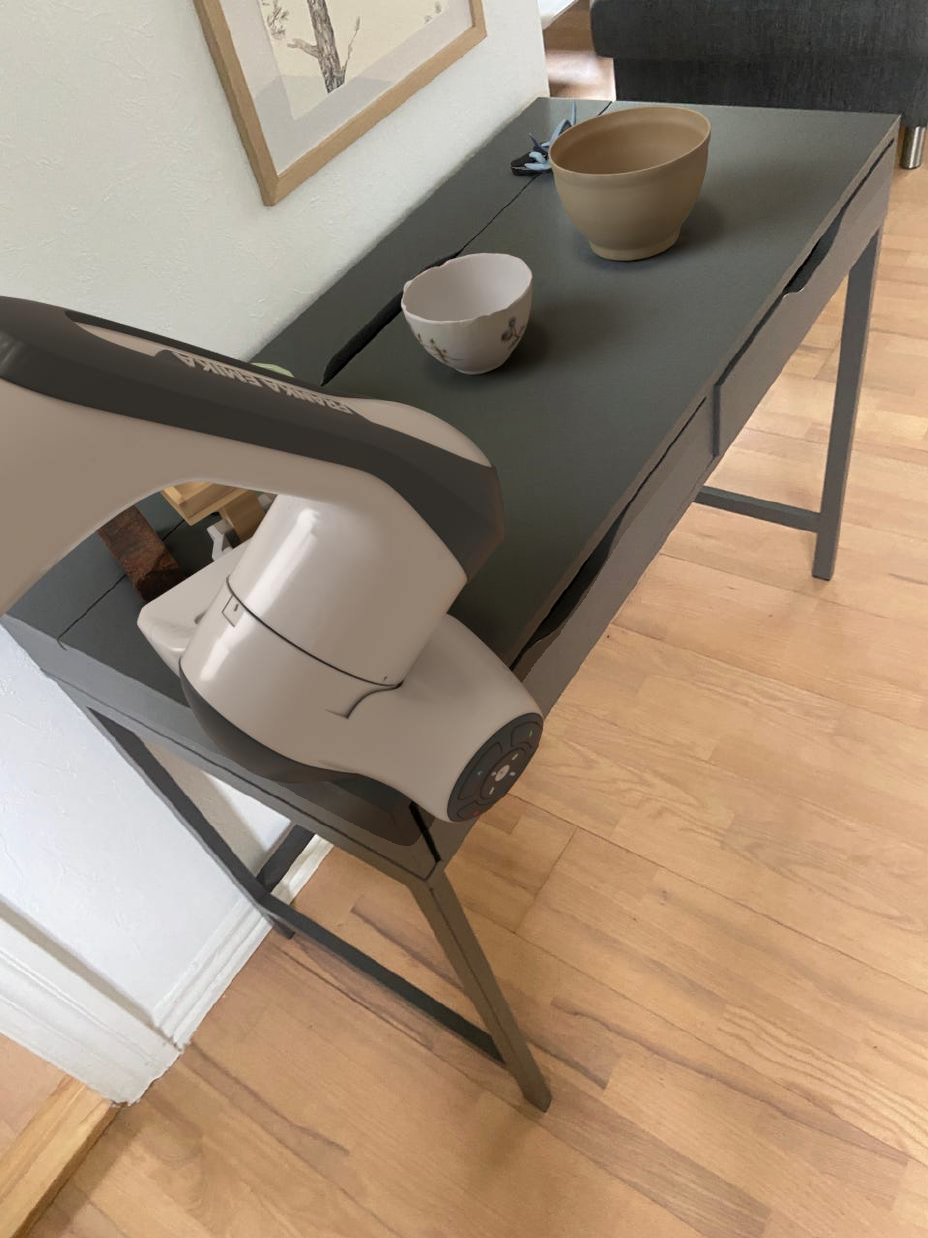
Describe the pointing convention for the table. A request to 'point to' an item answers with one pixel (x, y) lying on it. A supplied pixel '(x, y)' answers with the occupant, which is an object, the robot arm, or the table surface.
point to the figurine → (542, 150)
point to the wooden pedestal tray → (217, 505)
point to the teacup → (470, 310)
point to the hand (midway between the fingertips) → (241, 516)
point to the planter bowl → (632, 177)
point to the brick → (141, 554)
